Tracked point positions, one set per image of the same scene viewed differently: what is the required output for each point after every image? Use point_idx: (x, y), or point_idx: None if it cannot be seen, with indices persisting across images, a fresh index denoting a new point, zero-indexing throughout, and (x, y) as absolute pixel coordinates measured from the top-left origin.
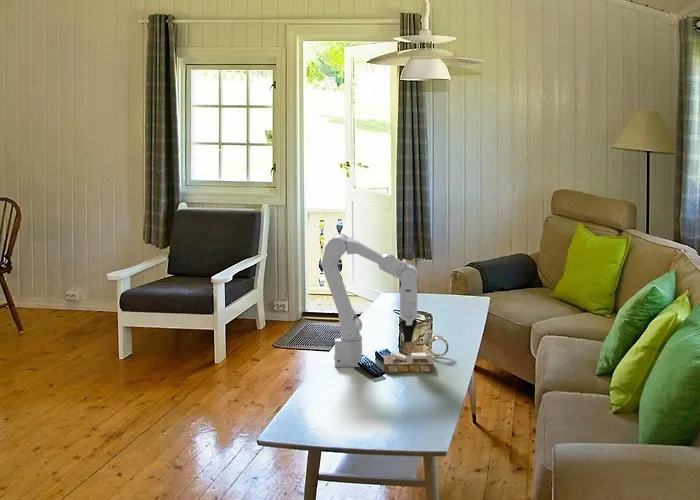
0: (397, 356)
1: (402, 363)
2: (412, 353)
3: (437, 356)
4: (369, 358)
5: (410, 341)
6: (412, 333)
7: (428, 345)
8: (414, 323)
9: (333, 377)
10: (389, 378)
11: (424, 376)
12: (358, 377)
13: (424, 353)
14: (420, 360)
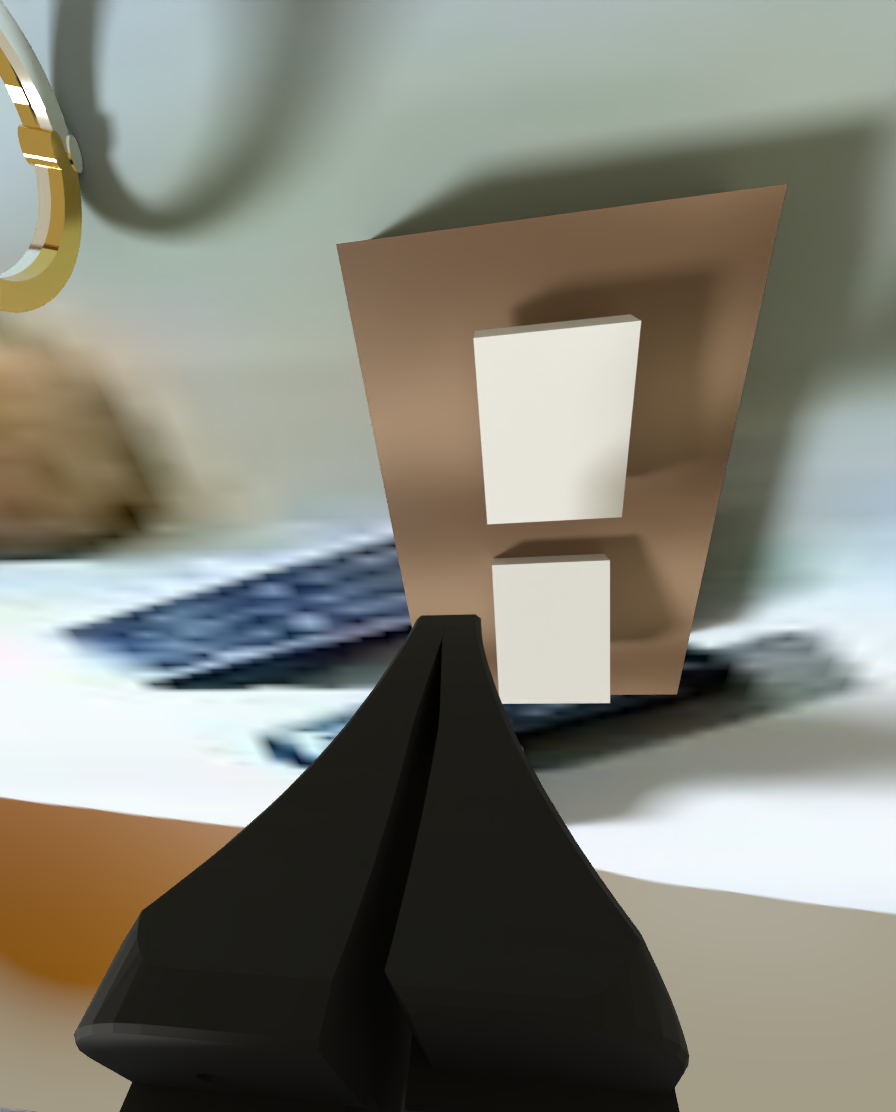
0: (608, 642)
1: (683, 571)
2: (513, 512)
3: (73, 163)
4: (324, 713)
5: (481, 626)
6: (507, 719)
7: (14, 307)
8: (687, 1058)
9: (701, 836)
10: (805, 609)
11: (841, 310)
12: (728, 756)
13: (511, 357)
14: None
